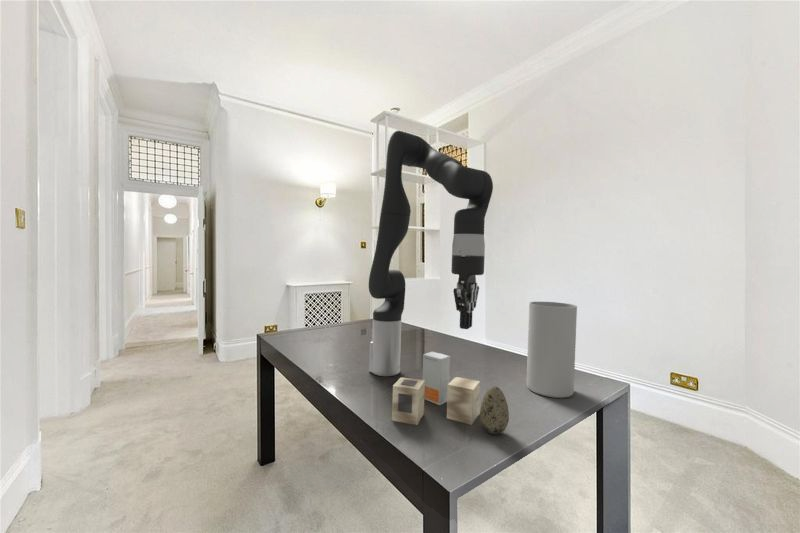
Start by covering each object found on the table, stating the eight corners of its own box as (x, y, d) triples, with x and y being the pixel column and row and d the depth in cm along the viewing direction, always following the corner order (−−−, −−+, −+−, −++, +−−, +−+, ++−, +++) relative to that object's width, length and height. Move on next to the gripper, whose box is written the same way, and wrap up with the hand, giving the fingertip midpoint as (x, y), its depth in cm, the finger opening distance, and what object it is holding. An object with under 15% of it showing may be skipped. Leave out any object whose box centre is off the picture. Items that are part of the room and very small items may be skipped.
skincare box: (421, 399, 88) (422, 353, 87) (431, 394, 91) (432, 350, 91) (439, 406, 84) (441, 359, 83) (449, 401, 87) (450, 355, 86)
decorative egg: (503, 426, 74) (505, 381, 74) (511, 440, 68) (513, 392, 68) (476, 425, 74) (478, 380, 74) (482, 439, 68) (484, 391, 68)
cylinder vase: (584, 396, 92) (587, 307, 92) (546, 401, 89) (550, 307, 88) (551, 380, 104) (554, 301, 104) (517, 383, 101) (520, 301, 100)
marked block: (391, 420, 75) (392, 385, 75) (399, 409, 81) (400, 376, 81) (417, 425, 74) (418, 389, 73) (423, 413, 79) (424, 380, 79)
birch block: (446, 418, 77) (447, 384, 77) (454, 408, 83) (455, 376, 82) (472, 425, 75) (473, 389, 74) (478, 414, 80) (479, 381, 80)
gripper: (461, 254, 86) (459, 321, 86) (442, 253, 74) (440, 331, 74) (490, 255, 82) (488, 325, 82) (476, 253, 70) (473, 335, 70)
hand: (465, 327), depth 78 cm, fingers closed
